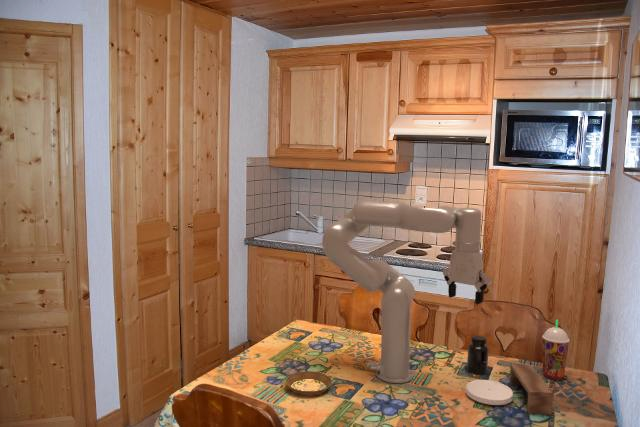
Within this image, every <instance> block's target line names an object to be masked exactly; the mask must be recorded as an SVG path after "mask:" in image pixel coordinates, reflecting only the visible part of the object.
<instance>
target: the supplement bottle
mask: <svg viewBox="0 0 640 427" xmlns="http://www.w3.org/2000/svg"><path fill="white" fill-rule="evenodd" d="M470 342H471V343H470V344H468V346H467V360H466V370H467V371H468V372H469V373H471V374H473V375H485V374H487V373H488V364H489V347H488V345H487V338H486V337H485V336H483V335H472V336H471V341H470Z"/></svg>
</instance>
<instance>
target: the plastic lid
mask: <svg viewBox="0 0 640 427" xmlns="http://www.w3.org/2000/svg"><path fill="white" fill-rule="evenodd" d="M465 393H466V395H467V397H469V398H470V399H472V400H474V401H476V402H478V403H480V404H481V403H482V404H485V405H491V406H503V405H508V404H510V403H511V402H512V401H513V399H514V391H513V390H512V388H511V387H509V386H508V385H505V384H503V383H502V382H498V381H494V380H490V379H489V380H488V379H474V380H471V381H469V382H468V383H467V384H466V385H465Z"/></svg>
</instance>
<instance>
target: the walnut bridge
mask: <svg viewBox="0 0 640 427" xmlns="http://www.w3.org/2000/svg"><path fill="white" fill-rule="evenodd" d="M509 367H510V368H509V380H508V381H509V382H508V383H509V385H510V386H513V387H514V386H515V387H517V386H518V387H523V388H524V389H525V391H526V392H527V405H526V408H527V409H526V412H527V413H528V414H529V415H530V414H531V415H548V416H551V415H552V413H553V401H554V399H553V398H554V392H553V391H552V390H551V388H550V387H549V385H548V384H547V383H546V382H545V381H544V379H543V378H542V377H541V376H540V375H539V373H538V372H537V371H536V369H535V368H534V367H533V365H531V364H521V363H520V364H516V363H510V366H509Z"/></svg>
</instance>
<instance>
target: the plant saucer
mask: <svg viewBox="0 0 640 427" xmlns="http://www.w3.org/2000/svg"><path fill="white" fill-rule="evenodd" d="M303 379H314V380H318V381H321V382H322V383H324V384H325V385H326V388H325V389H322V390H318V391H301V390H297V389H294V388H292V387H291V385H292V384H293V383H294V382H296V381H299V380H303ZM285 384H286V385H287V387H288V389H290V390H291V391H293V393H295V394H297V393H298V394H297V395H300V394H301V395H300V396H304V395H314V396H318V395H317V394H319V395H321V394H323V393H325V392H326V391H327V390H328V389H329V388H330V387H331V386H332V384H333V380H332V378H331V377H330V376H328V375H327V374H326V373H325V374H324V373H322V372H318V371H317V372H316V371H299V372H295V373H292V374H290V375H289V376H287V377H286V378H285Z"/></svg>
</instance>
